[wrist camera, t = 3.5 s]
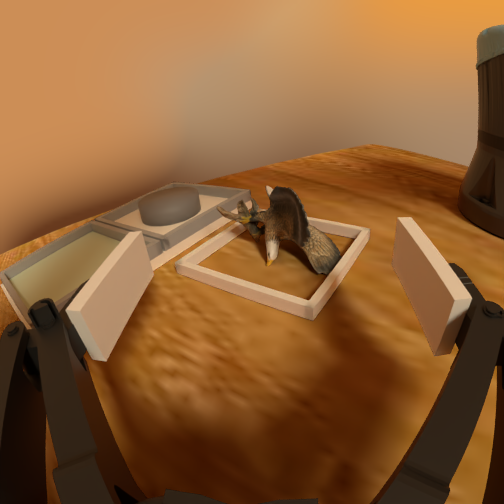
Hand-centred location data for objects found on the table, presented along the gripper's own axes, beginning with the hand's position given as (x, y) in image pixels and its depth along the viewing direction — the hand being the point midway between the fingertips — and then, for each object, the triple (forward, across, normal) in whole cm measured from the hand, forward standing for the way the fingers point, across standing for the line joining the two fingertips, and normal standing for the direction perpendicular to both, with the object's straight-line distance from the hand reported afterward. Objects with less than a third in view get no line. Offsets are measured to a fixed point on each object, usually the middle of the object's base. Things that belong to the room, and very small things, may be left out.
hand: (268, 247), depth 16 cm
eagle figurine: (+9, +1, -6) cm, 11 cm away
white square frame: (+9, 0, -6) cm, 11 cm away
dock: (+12, -16, -6) cm, 21 cm away
